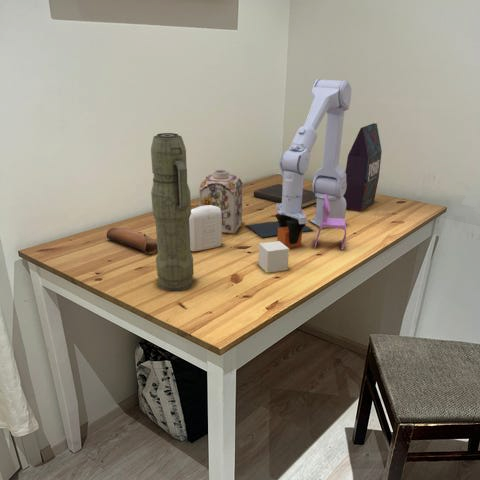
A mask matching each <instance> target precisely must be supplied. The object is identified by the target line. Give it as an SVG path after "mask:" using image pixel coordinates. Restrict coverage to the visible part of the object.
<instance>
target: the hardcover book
mask: <svg viewBox="0 0 480 480" xmlns="http://www.w3.org/2000/svg"><path fill="white" fill-rule="evenodd" d="M282 189H283V183H282V184H281V183H276V184H273V185H269V186H266V187H263V188H259V189H256V190H254V191H253V197H255V198H259V199H261V200H262V199H263V200H266V201H271V202H275V203H277V204H278V203H282ZM316 203H317V197H316V196H315V193H314V192H313V190H309V189H304V188H303V193H302V206H301V210H302V209H306V208H308V207H310V206H313V205H315V204H316Z"/></svg>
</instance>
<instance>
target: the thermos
mask: <svg viewBox="0 0 480 480" xmlns="http://www.w3.org/2000/svg"><path fill="white" fill-rule="evenodd" d="M150 158H151V171H152V174H153V178H152V187H151V191H150V192H151V195H150V196H151V206H152V207H151V208H152V216H153V217H154V220H155V221H154V222H155V234H156V240H157V248H158V252H157V254H156V258H155V262H156V275H157V278H158V286H159V287H160V288H161V289H163V290H167V291H173V292H174V291H175V292H176V291H177V292H178V291H183V290H186V289H189V288H191V287H192V286H193V284H194V274H195V273H194V257H193V254H192V251H191V250H190V226H189V218H190V215H191V210H192V205H191V204H192V203H191V202H192V201H191V190H190V187H189V184H188V169H187V149H186V145H185V143H184V140H183V137H182V135H179V134H178V133H175V132H174V133H173V132H163V133H162V132H161V133H157V134H156V135H154V136H153V138H152V142H151V146H150Z"/></svg>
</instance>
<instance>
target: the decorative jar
mask: <svg viewBox="0 0 480 480" xmlns="http://www.w3.org/2000/svg"><path fill="white" fill-rule="evenodd" d="M198 196H199V199H198V202H199V203H198V204H199V207H200V206H205V205H213V206H217V207H219V208H220V209H221V213H222V234H228V235H229V234H230V235H236V233H237V232H238V230H239V228H240V227H241V225H242V223H243V182H242V180H241V178H240V177H238V176H237V175H235V174H232V173H231V174H230V172H229V170H227V169H214V170H213V174H208V175H205V176H203V178H202V180H201V183H200V186H199V188H198Z"/></svg>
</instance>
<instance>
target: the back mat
mask: <svg viewBox="0 0 480 480" xmlns="http://www.w3.org/2000/svg"><path fill="white" fill-rule="evenodd" d="M246 227H247V228H248V229H249V230H250V231H252V232H253V233H255V234H256V235H257V236H258V237H260V238H262V239H265V238H267V239H268V238H274V237H278V228H279V227H280V226H279V223H278V220H277V221H267V222H260V223H253V224H246ZM308 232H313V229H312V228H311V227H309V226H307V225H305V226H304V227H303V229H302V233H308Z"/></svg>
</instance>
